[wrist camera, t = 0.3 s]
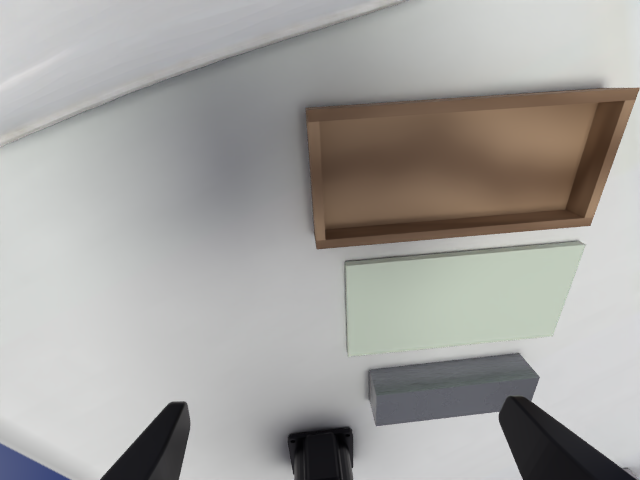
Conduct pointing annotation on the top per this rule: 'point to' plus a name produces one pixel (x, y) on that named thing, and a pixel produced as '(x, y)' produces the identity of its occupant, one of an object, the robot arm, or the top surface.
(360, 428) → the top surface
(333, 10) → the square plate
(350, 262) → the sage mat
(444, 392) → the gunmetal bar
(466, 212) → the walnut slot tray
